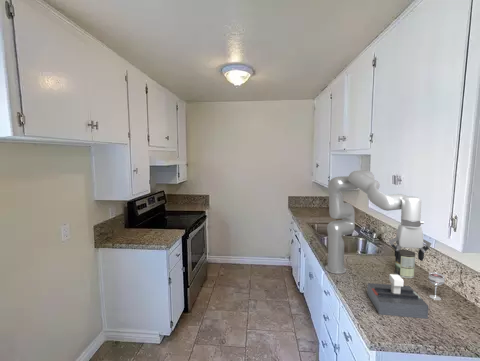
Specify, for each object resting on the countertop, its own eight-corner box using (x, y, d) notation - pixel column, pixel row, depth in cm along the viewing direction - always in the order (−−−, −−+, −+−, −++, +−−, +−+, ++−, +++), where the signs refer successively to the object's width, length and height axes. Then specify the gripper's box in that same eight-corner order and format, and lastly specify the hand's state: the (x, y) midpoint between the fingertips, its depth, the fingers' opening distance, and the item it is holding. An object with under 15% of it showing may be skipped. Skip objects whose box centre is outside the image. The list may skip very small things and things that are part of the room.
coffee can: (391, 273, 162) (392, 251, 160) (399, 269, 167) (400, 248, 166) (409, 280, 153) (410, 256, 152) (417, 275, 158) (418, 253, 157)
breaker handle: (388, 289, 130) (389, 274, 129) (397, 290, 129) (398, 274, 128) (393, 296, 124) (394, 279, 123) (402, 296, 123) (403, 280, 122)
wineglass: (442, 302, 129) (444, 279, 128) (426, 297, 134) (427, 275, 133) (444, 297, 134) (445, 274, 133) (428, 292, 139) (429, 270, 137)
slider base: (367, 294, 138) (367, 281, 137) (409, 297, 134) (409, 284, 133) (379, 314, 120) (379, 299, 119) (427, 318, 116) (428, 303, 116)
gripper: (427, 222, 123) (425, 257, 124) (387, 220, 127) (385, 255, 128) (435, 226, 116) (433, 263, 117) (392, 224, 119) (391, 261, 121)
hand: (408, 259), depth 123 cm, fingers open, 9 cm apart
